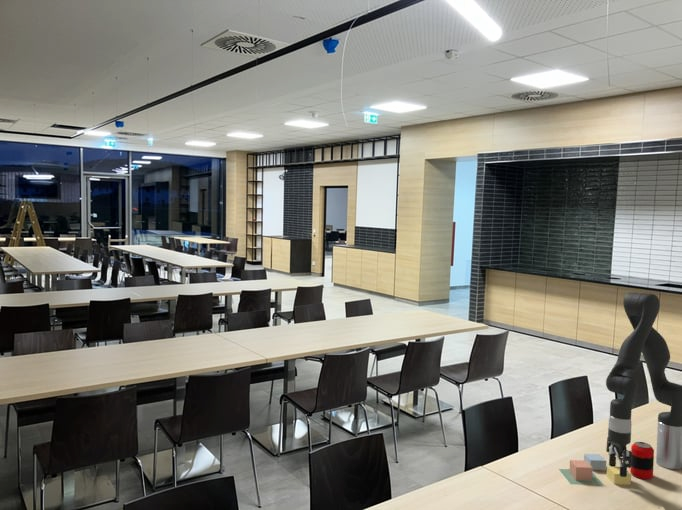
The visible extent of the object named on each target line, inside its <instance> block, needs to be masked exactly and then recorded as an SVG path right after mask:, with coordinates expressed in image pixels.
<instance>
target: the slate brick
mask: <svg viewBox="0 0 682 510" xmlns="http://www.w3.org/2000/svg"><path fill="white" fill-rule="evenodd" d="M583 460H584V461H587V462H588V463H589V464H590V465H591V467H592V468H593V471H607V459H605V458H604V457H603V456H602V455H601V454H600V453H584V454H583Z"/></svg>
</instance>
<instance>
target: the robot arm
mask: <svg viewBox="0 0 682 510" xmlns="http://www.w3.org/2000/svg"><path fill="white" fill-rule="evenodd" d="M622 305H623V309H624V311H625V314H626V316H627V318H628V320H629V322H630V324H631V327H632V329H633V331H632V332H631V333H630V334H629V335H628V336H627V337H626V338H625V339H624V340H623V342H622V343H621V345H620V348H619V353H618V356H617V359H616V362H615V364H614V365H613V367H612V369H611V371H610V372H609V373H608V375H607V377H606V380H605V386H606V389H607V390H608V391H610V393H611V392H612V393H615V394H620V395H622V396H623V398H613V399H612V400H611V401H610V402H609V405H610V406H609V418H608V425H607V426H608V427H607V431H608V432H607V439H606V449H605V451H606V453H608V456H609V458H608V466H609V467H617V466H616V465H617V460H618V462H619V467H620V476H621V477H626V476H627V471H628V468H629V469H631V450H627V445H629V444H631V442H632V441H631V440H632V412H633V411H632V408H633V405H634V401H635V398H636V396H637V395H638V390H639V383H638V381H637V379H636V378H634V377H632V376H627V375H624V373H625V372H635V371H637V370H638V368H639V365H640V364H639V363H640V359H641V357H643V360H644V362H645V364H646V367H647V371H648V374H649V378H650V384H651V386H652V387H651V388H652V393H653V396H654V398H655V400H656V401H657V402H658V403H661V404H663V405H666V406H668V407H670V411H662V412H658V413H659V414H658V415H657V435H656V453H655V454H656V456H655V461H656V464H657V465H659V466H660V467H663V468H666V469H670V470H682V384H679V383H675V382H671V381H669V380H668V379H667V377H666V372H665V371H666V369H667V366H668V364H669V362H671V361H670V360H671V352H670V349H669V346H668V344H667V341H666V340H665V338H664V337H663V335H662V334H660V332H658V330H657V329H656V328H654V327H653V326H654V323H655V321H656V319H657V317H658V315H659V311H660V306H661V305H660V298H659V297H658V296H657V294H655V293H649V292H648V293H647V292H634V291H632V292H627V293H626V294H625V295H624V297H623V304H622ZM641 355H642V356H641Z"/></svg>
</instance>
